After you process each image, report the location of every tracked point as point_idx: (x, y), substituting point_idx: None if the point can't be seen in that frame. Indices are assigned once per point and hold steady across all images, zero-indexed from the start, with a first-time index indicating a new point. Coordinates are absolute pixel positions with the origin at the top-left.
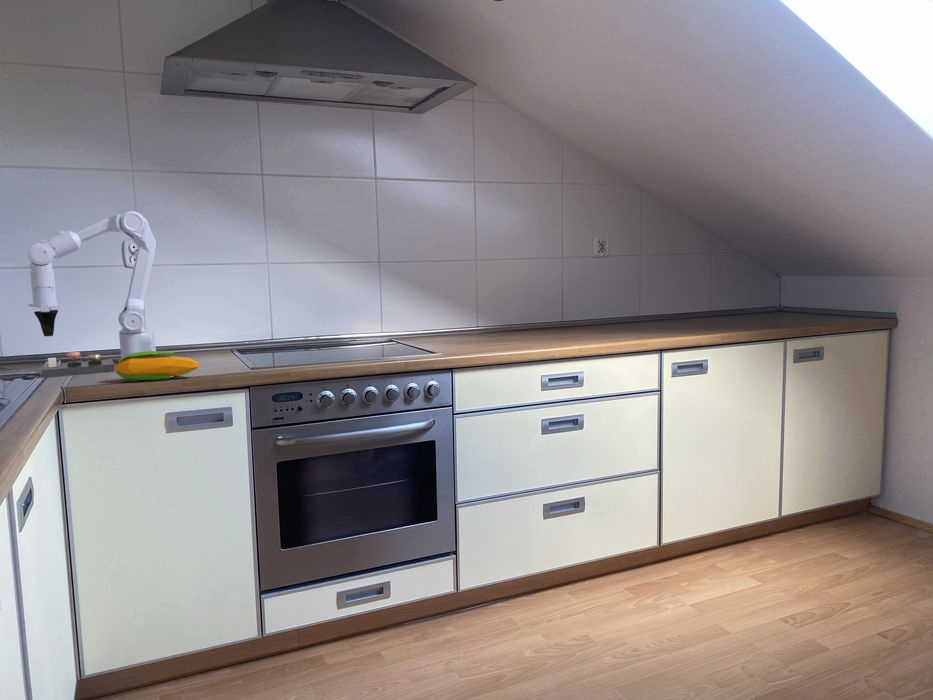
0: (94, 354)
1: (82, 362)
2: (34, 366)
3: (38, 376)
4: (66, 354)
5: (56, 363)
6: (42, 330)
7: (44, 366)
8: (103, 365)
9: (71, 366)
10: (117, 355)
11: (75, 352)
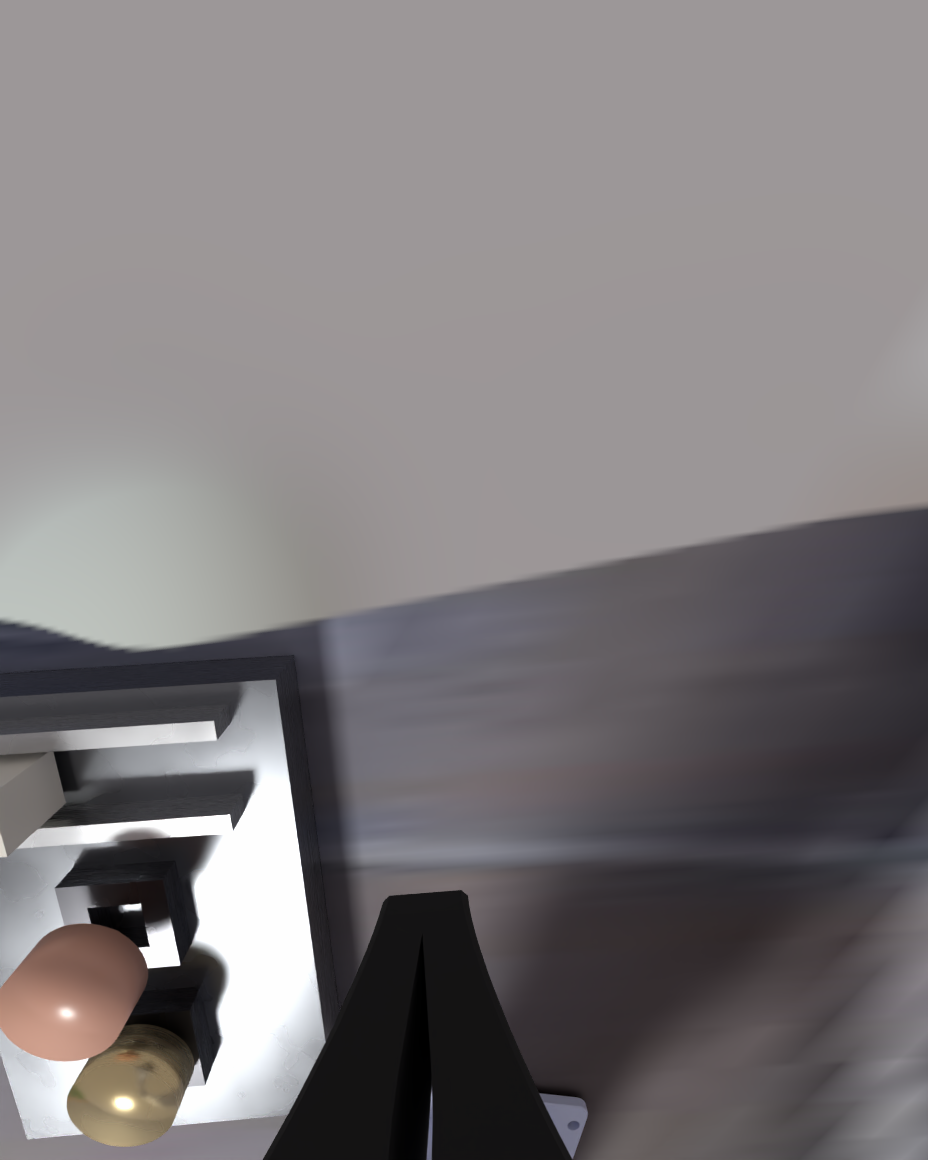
0: (155, 1107)
1: (252, 948)
2: (700, 550)
3: (51, 641)
4: (52, 950)
5: (41, 817)
6: (356, 982)
7: (142, 702)
8: (12, 1080)
9: (35, 896)
10: (914, 1043)
11: (51, 1032)
